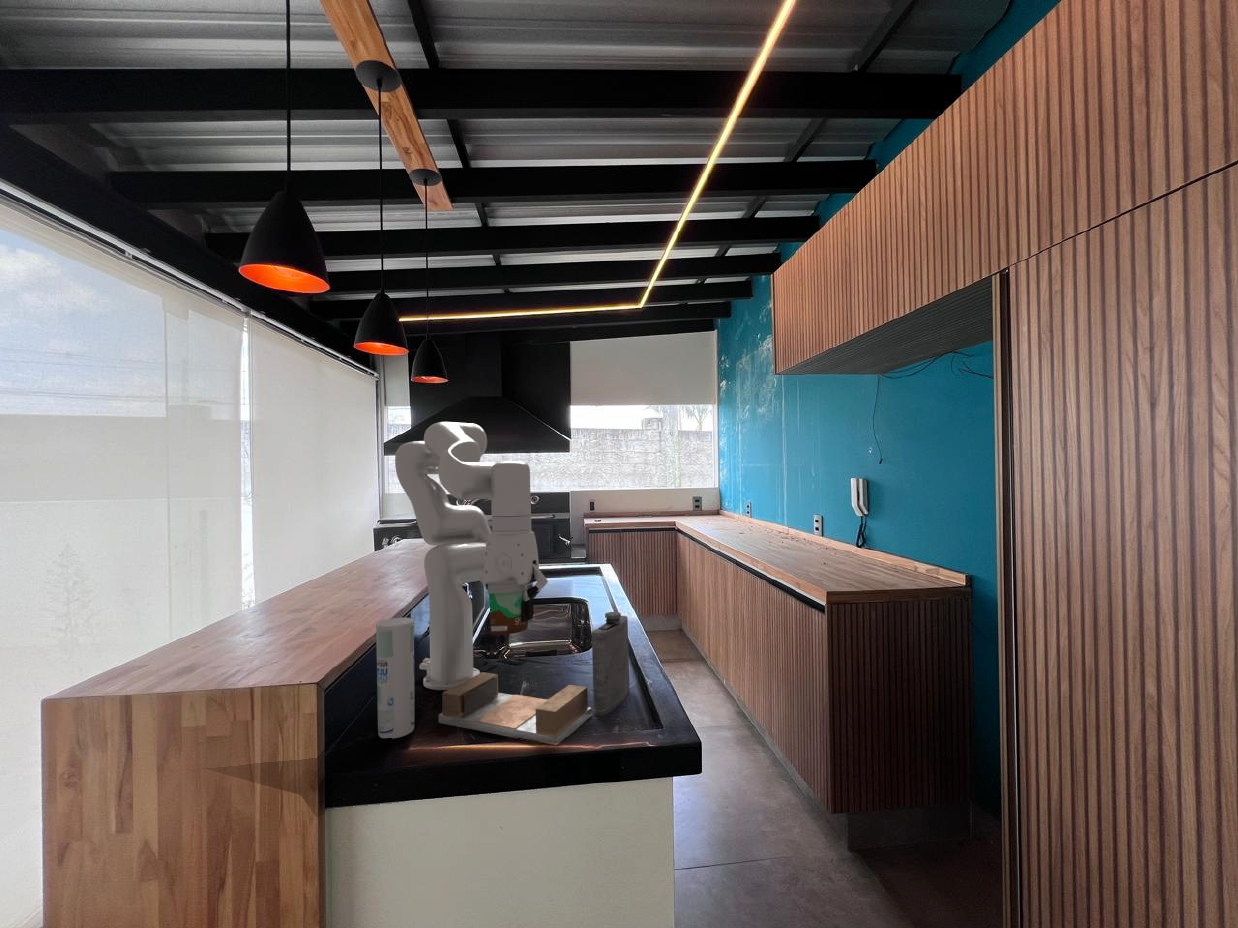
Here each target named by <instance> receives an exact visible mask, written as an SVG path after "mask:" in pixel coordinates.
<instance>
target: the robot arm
mask: <svg viewBox="0 0 1238 928" xmlns="http://www.w3.org/2000/svg"><path fill="white" fill-rule="evenodd" d="M487 447H488V438H487V433H486V432H485V429H483V428H482V427H481V426H480V425H478V424H476V423H473V422H472V423H470V422H469V423H467V422H456V421H454V422H453V421H439V422H436V423H435V422H434V423H433V424H431V425H430V426H428V428H427V429H425V431H424V436H423V440H419V441H418V440H414V441H409V442H405V443H403V444H401V445H399V447H398V449H397V450H396V451H395V456H394V457H395V458H394V463H395V464H394V465H395V472H396V476H397V479H398V482H399V484H400V486H401V487H402V489H403V491H404V492H405V494H406V495H407V497H408V499H409V501H410V502H411V505H412V509H413V513H414V516H415V520H416V523H417V526H418V529H419V532H420V535H421V537H422V540H423V541H424V542H425V543H426V544H427V545H429V546H433V547H431V548H430V549H429V550H428V551H427V553H426V554H425V556H424V559H423V561H424V563H423V568H424V572H425V578H426V584H427V591H428V605H429V606H428V608H429V609H428V610H429V615H428V616H429V658H428V657H425V658H424V659H423V660H422V663H420V664H419V670H424V671H425V670H426V675H425V676H424V677H423V681H422V684H423V686H424V687H425V688H426V689H429V690H434V691H447V690H449V689H451V688H453V687H454V686H456V685H458V684H460V683H462V682H464V681H466V680H468V679H470V678H472V677H474V676H476V675H478V674H480V673H481V672H480V670H479V669H478V668H475V667H474V645H473V644H474V641H473V640H474V638H473V637H474V636H473V635H474V634H473V633H474V632H473V629H474V628H473V604H472V600H471V597H470V595H469V594H468V593H467V592H466V591H465V589H464V588H463V586H462V584H463V585H464V584H466V583H467V584H468V583H472V582H478V581H480V583H481V584H483V586H484V587H485V589H486V590H487V589H488V582H498V581H511V580H516V583H518V585H519V586H525V590H522V596H523V599H524V600H523V601H521V621H522V622H527V621H528V622H529V621H531V620H533V619H534V615H535V614H534V613H535V609H534V602H535V601H534V599H536V598H537V595H538V594H539V593H540V592H541V590H542V589H544V587H545V586H546V585H547V584H548V583H549V580H548V579H547V578H546V576H545V575H544V573H543V572H542V571H541V570H540V563H539V552H538V545H537V539H536V535H535V532H534V531H532V506H531V505H532V504H531V503H532V502H531V469H530V465H529V464H528V463H527V462H524V461H498V462H490V461H489V462H488V461H487V462H485V461H484V462H483V461H481V457H483V455H484V453H486V450H487ZM429 475H438V478H439V481H440V484H439V483H438V482H437V481H436V480H434V479H433V478H432V477H430V476H429ZM445 490H446V491H445ZM447 493H448V494H450V495H451V496H452V497H454V498H456V499H458V500H463V501H472V500H476V501H477V500H491V518H490V519H487V517H486V514H485V513H484V511H483V510H482V508H481V509H480V508H479V507H478V506H476V505H469V504H468V505H453V504H451V503H450V501H449V498H448V495H447ZM527 583H528V585H531V588H529V589H527V586H528V585H526V584H527ZM534 583H535V584H534Z"/></svg>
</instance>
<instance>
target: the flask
mask: <svg viewBox="0 0 1238 928" xmlns="http://www.w3.org/2000/svg"><path fill="white" fill-rule="evenodd" d="M604 618H605V623H603V624H602V625H601V626H599V627H597V628H596V629H592V630H591V650H592V651H591V653H592V656H591V657H592V658H591V659H592V690H593V691H592V693H593V695H592V699H593V715H595V716H602V717H603V716H605V715H608V714H609V713H611V712H613V711H614V710H615V709H616V708H618V707H619V706H620V705H621V704H622V703H623V702H624V701H625V700H626V698H627V697H628V695H629V694H630V690H631V689H630V664H629V663H630V660H629V657H630V656H629V625H628V624H629V622H628V621H629V619H628V616H627V615H622V614H621V612H619V611H609V612H605V613H604Z"/></svg>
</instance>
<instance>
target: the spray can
mask: <svg viewBox="0 0 1238 928" xmlns="http://www.w3.org/2000/svg"><path fill="white" fill-rule="evenodd" d="M414 621H415V620H414V619H413V618H411V617H393V618H388V619H383V620H380V621H378V622H377V623H376V626H375V627H376V628H375V632H376V634H375V635H376V638H375V639H376V643H375V644H376V684H377V685H376V687H377V688H376V689H377V690H376V691H377V693H376V694H377V732H378V736H379V738H381V739H385V738H386V739H387V738H392V739H397V738H398V739H399V738H401V737H405V736H407V735H409V734H411V733H412V732H413V731H414V730H415V622H414ZM387 740H388V739H387Z"/></svg>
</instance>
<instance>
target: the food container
mask: <svg viewBox="0 0 1238 928" xmlns="http://www.w3.org/2000/svg"><path fill="white" fill-rule="evenodd" d="M526 585H528V583H527V584H526ZM529 588H531V585H528V586H527V589H529ZM522 590H525V586H519V585H518V583H516V580H511V581H498V582H488V589H486V593H487V594H488V602H489V616H490V617H489V619H490V634H491V636H506V635H513V634H517V633H522V632H524V631H526V630H527V629H528V627H529V621H527V622H522V621H521V601H523V600H524V599H523V596H522Z"/></svg>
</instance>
